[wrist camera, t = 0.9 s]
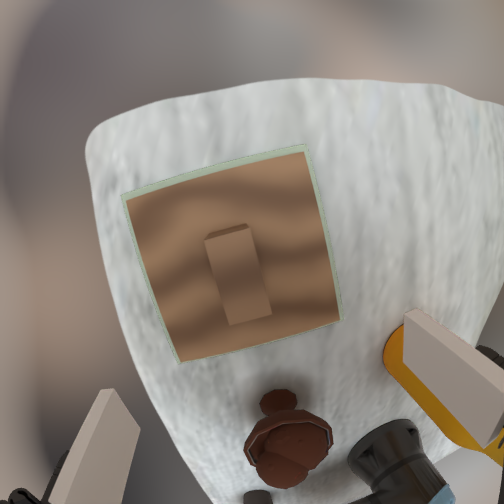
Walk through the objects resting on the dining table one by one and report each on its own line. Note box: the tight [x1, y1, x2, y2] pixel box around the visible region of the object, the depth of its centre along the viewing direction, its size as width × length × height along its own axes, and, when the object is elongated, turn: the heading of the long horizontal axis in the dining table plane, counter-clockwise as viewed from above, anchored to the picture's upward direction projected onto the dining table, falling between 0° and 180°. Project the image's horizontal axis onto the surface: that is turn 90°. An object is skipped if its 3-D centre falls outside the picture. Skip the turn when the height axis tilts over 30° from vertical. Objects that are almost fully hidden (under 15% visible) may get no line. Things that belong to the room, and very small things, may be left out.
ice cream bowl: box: [243, 389, 334, 489], centre depth 29 cm, size 11×11×15 cm
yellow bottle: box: [383, 325, 504, 467], centre depth 22 cm, size 9×9×29 cm
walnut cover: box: [126, 152, 340, 362], centre depth 28 cm, size 20×20×8 cm
